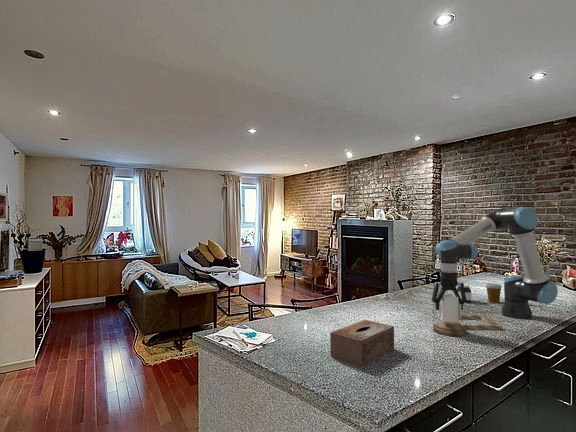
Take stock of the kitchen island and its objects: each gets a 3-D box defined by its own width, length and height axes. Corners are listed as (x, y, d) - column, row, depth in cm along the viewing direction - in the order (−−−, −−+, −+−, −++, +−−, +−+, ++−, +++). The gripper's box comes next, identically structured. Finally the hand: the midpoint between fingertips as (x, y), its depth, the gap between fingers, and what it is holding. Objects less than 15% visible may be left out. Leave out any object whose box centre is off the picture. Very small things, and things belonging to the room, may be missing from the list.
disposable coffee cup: (486, 299, 241) (486, 282, 241) (502, 301, 236) (502, 284, 236) (485, 302, 233) (484, 284, 234) (501, 304, 228) (501, 286, 228)
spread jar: (473, 303, 232) (473, 285, 232) (456, 303, 232) (456, 285, 233) (464, 299, 244) (464, 282, 244) (448, 299, 244) (448, 282, 244)
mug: (448, 324, 165) (448, 299, 165) (432, 320, 172) (432, 296, 172) (462, 320, 171) (462, 296, 171) (446, 316, 178) (446, 293, 178)
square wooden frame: (481, 318, 195) (481, 314, 195) (502, 329, 174) (502, 325, 174) (444, 318, 195) (444, 314, 195) (461, 329, 175) (461, 325, 175)
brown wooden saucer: (457, 327, 179) (457, 320, 179) (472, 336, 164) (472, 329, 164) (428, 326, 179) (428, 320, 179) (440, 336, 164) (440, 329, 164)
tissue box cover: (360, 367, 130) (360, 340, 130) (330, 357, 140) (330, 332, 140) (394, 349, 148) (394, 326, 148) (365, 341, 158) (365, 319, 158)
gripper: (467, 270, 175) (467, 314, 175) (423, 270, 176) (424, 314, 176) (474, 272, 168) (475, 318, 167) (429, 272, 169) (429, 318, 168)
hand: (449, 316), depth 172 cm, fingers closed on mug, 9 cm apart
